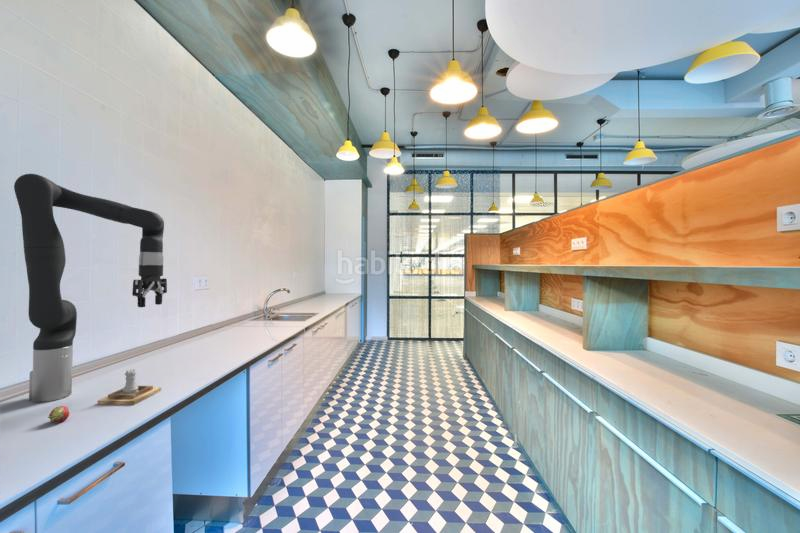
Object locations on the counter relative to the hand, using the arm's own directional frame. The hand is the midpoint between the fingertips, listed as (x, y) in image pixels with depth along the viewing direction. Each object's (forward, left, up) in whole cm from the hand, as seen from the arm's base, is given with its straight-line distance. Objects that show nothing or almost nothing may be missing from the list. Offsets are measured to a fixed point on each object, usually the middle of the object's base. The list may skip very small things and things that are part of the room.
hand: (150, 305), depth 124 cm
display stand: (+4, -13, -30) cm, 33 cm away
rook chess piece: (+4, -13, -29) cm, 32 cm away
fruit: (-2, -31, -30) cm, 43 cm away
